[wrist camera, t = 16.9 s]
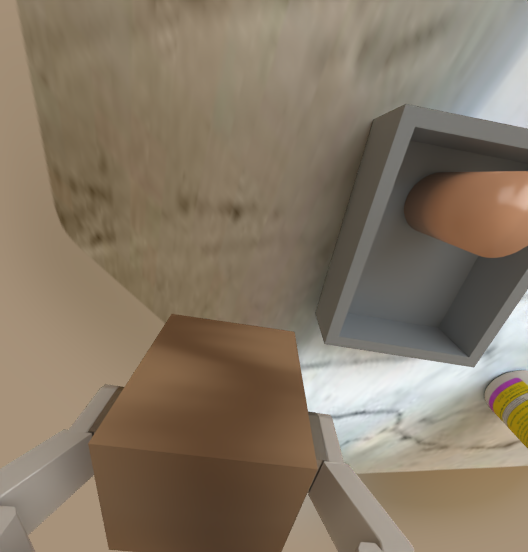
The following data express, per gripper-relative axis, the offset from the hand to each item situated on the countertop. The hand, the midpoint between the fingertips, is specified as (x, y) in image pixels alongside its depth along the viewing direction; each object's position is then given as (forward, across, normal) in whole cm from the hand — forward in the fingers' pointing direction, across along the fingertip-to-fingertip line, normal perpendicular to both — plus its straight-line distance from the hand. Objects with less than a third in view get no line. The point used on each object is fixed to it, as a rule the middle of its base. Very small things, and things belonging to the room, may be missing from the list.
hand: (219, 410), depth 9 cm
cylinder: (+15, -15, -8) cm, 23 cm away
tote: (+16, -15, -4) cm, 22 cm away
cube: (+2, 0, 0) cm, 2 cm away
